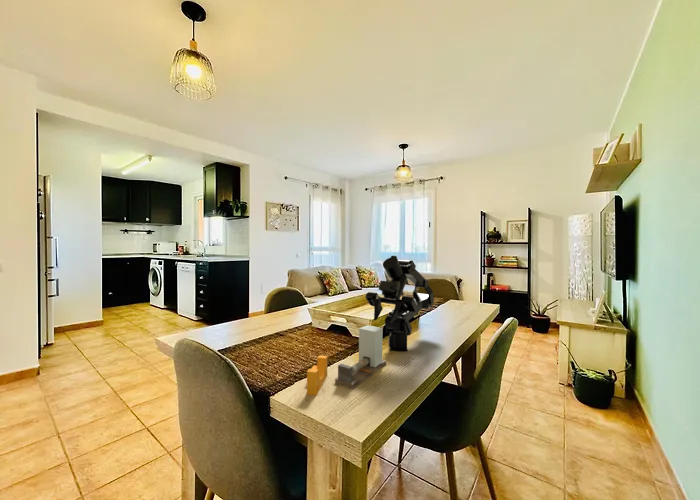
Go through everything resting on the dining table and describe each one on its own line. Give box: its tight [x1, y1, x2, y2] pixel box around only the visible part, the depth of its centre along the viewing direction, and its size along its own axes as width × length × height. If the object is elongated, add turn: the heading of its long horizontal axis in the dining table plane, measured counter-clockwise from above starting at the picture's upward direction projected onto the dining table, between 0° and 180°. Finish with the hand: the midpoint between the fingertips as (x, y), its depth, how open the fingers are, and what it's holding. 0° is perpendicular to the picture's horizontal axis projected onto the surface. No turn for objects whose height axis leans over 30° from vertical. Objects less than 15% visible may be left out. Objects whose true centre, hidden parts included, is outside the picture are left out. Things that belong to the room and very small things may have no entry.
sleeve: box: [358, 324, 384, 367], centre depth 99 cm, size 5×6×11 cm
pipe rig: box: [334, 357, 387, 390], centre depth 95 cm, size 21×6×6 cm, turn 146°
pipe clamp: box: [306, 355, 328, 397], centre depth 87 cm, size 12×4×6 cm, turn 170°
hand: (382, 321), depth 106 cm, fingers open, 6 cm apart
